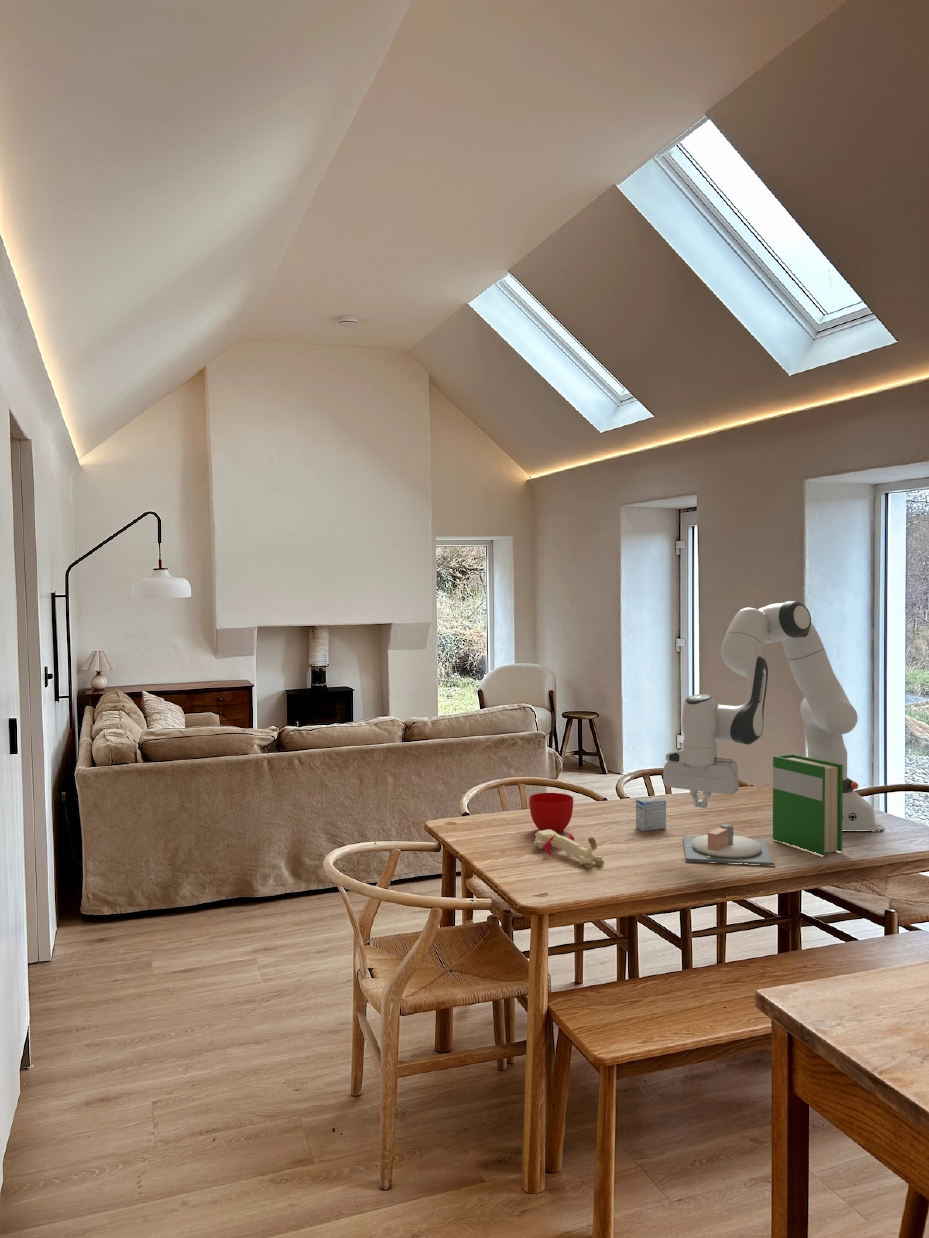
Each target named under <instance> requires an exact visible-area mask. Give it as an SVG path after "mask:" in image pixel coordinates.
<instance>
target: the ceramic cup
mask: <svg viewBox="0 0 929 1238" xmlns="http://www.w3.org/2000/svg"><path fill="white" fill-rule="evenodd" d="M528 799H529V800H528V803H529V811H530V816H531V819H532V822H533V824H534V825H535V826H536V828H537V829H538V831H543V830H548V829H549V830H553V831H554V832H556V833H557V834H559V835H560V834H561V833H563V832H564V830H565V829H566V828H567V827H568V826H569V824H570V822H571V819H572V815H573V812H574V811H573V810H574V797H573V796H572V795H570V794H566V793H562V792H561V793H560V792H559V793H558V792H538V793H534V794H532V795H530V796H529V798H528Z"/></svg>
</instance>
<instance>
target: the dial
mask: <svg viewBox="0 0 929 1238" xmlns="http://www.w3.org/2000/svg"><path fill="white" fill-rule="evenodd" d="M753 839H754V838H748V837H745V836H741V835H734V825H733V824H729V823H721V824H719V826H718V827H717V828H715V829H713V830H711V831H709V832H707V834H704V835H700V836H699V837H696V838H694V839H693V840H692V847H693V848H694V849H695V850H696V851H698V852H701V853H704V854H707V855H712V856H718V857H728V858H742V857H750V856H755V855H757V854H759V853H760V852H761V844H760V843H759V842H757V841H755V840H753Z"/></svg>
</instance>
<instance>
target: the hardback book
mask: <svg viewBox="0 0 929 1238" xmlns="http://www.w3.org/2000/svg"><path fill="white" fill-rule="evenodd" d="M842 785H843V765H841V764H837V763H832V762H828V761H823V760H818V759H814V758H809V757H808V756H803V755H799V754H793V753H790V754H782V755H774V756H772V840H773V839H774V840H777V841H780V842H785V843H788V844H790V845H795V846H798V847H800V848H803V849H807V850H809V851H812V852H816V853H818V854H821V855H824V856H825V854H827V853H826V852H829V853H835V852H834V851H837V850H838V851H842V852H843V832H842Z"/></svg>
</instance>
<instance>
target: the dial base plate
mask: <svg viewBox="0 0 929 1238" xmlns="http://www.w3.org/2000/svg"><path fill="white" fill-rule="evenodd" d="M696 837H699V836H698V835H682V841H683V848H684V855H685V863H692V862H715V863H743V864H744V863H748V864H760V865H774V866H775V861H774V858H773V856H772V854H771V852H770V850H769V848H768V846H767V843H766V841H765V838H752V839H753V840H755V841H757V842H759V843H760V844H761V852H760V853H759V854H757V855H755V856H750V857H742V858H728V857H718V856H712V855H707V854H704V853H701V852H698V851H696V850H695V849H694V848H693V847H692V840H693V839H694V838H696Z"/></svg>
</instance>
